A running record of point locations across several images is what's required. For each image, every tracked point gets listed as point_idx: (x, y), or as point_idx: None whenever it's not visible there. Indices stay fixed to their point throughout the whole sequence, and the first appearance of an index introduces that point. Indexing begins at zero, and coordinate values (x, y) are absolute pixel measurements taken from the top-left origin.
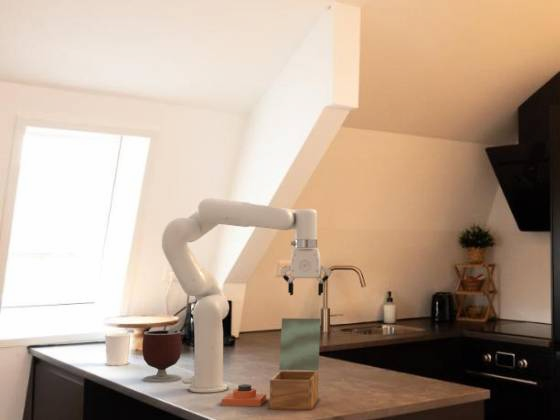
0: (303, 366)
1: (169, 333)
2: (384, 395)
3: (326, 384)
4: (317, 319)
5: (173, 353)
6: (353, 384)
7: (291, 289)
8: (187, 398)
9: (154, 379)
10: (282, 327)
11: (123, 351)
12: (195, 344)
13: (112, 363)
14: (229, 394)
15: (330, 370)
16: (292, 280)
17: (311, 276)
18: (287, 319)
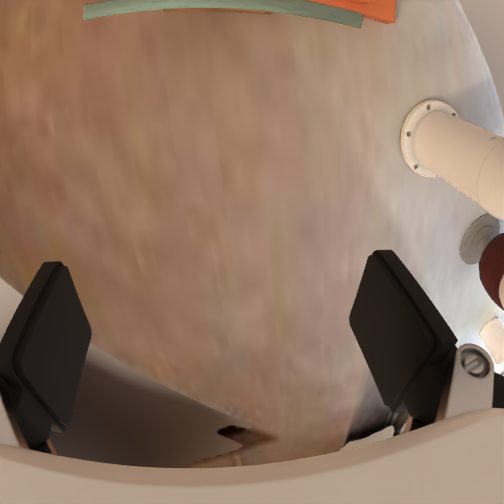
0: None
1: None
2: (17, 86)
3: (165, 195)
4: (102, 1)
5: (501, 250)
6: (100, 201)
7: (406, 288)
8: (457, 58)
9: (491, 223)
10: (335, 6)
11: (495, 335)
12: None
13: (496, 319)
14: (391, 8)
15: (189, 337)
16: (451, 388)
17: (49, 487)
18: (324, 4)
